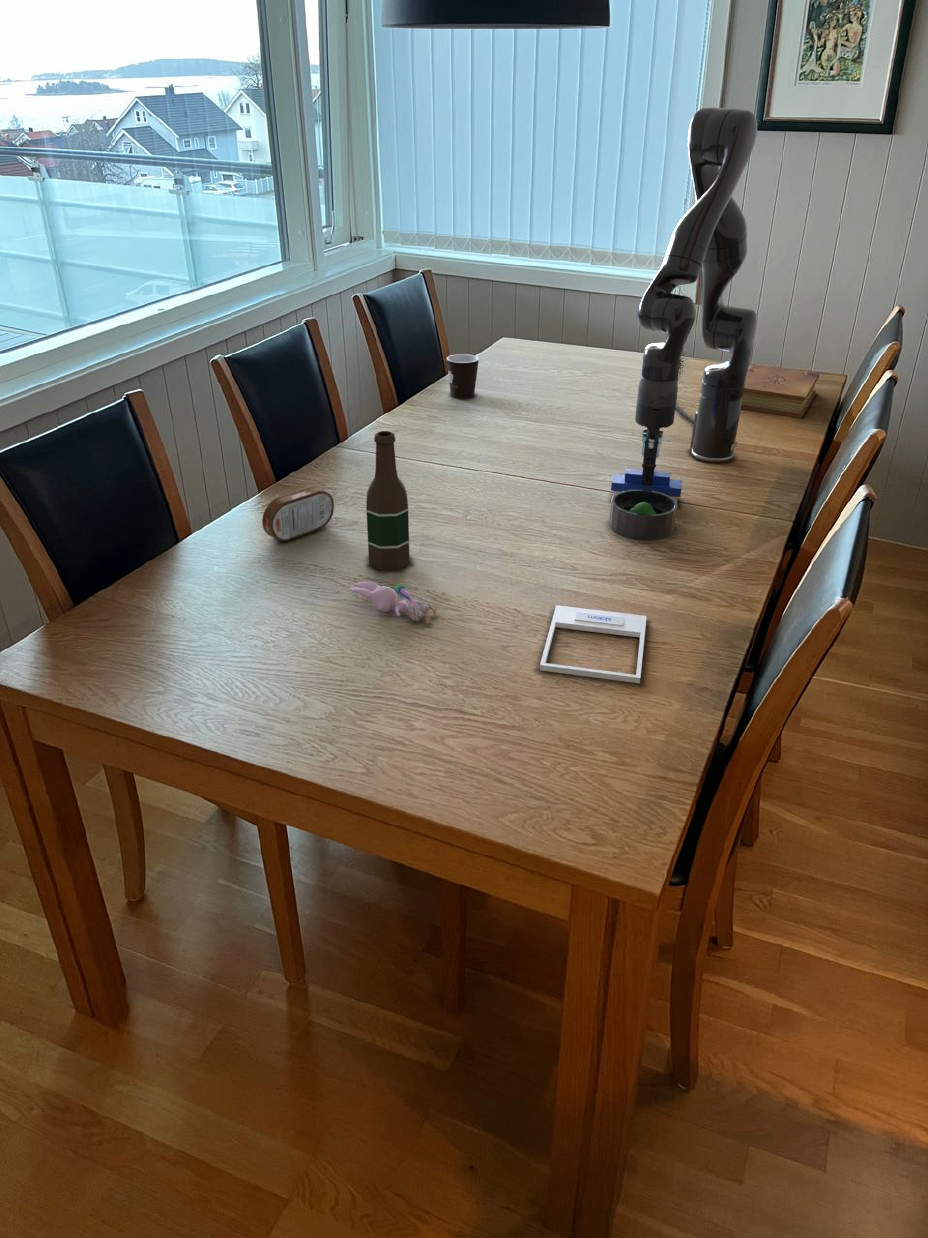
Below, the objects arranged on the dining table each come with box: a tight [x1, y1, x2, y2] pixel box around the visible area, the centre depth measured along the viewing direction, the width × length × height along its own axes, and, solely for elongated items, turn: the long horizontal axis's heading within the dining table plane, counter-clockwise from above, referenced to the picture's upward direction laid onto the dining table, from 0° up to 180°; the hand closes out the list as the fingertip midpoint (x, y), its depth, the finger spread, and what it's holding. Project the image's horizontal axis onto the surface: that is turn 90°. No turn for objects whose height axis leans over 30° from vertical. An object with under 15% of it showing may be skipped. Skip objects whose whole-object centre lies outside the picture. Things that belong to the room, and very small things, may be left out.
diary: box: [741, 364, 821, 418], centre depth 247 cm, size 23×19×6 cm
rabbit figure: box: [349, 580, 437, 626], centre depth 148 cm, size 6×6×15 cm
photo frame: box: [539, 604, 647, 684], centre depth 141 cm, size 15×1×18 cm
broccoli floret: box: [628, 502, 657, 515], centre depth 176 cm, size 5×6×5 cm
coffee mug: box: [446, 353, 480, 400], centre depth 249 cm, size 12×9×10 cm
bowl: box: [608, 490, 678, 541], centre depth 177 cm, size 12×12×6 cm
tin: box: [261, 485, 335, 542], centre depth 172 cm, size 15×3×8 cm, turn 134°
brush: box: [610, 468, 683, 503], centre depth 188 cm, size 14×5×6 cm, turn 78°
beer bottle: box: [365, 430, 410, 572], centre depth 159 cm, size 8×8×24 cm
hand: (647, 476), depth 188 cm, fingers open, 8 cm apart
